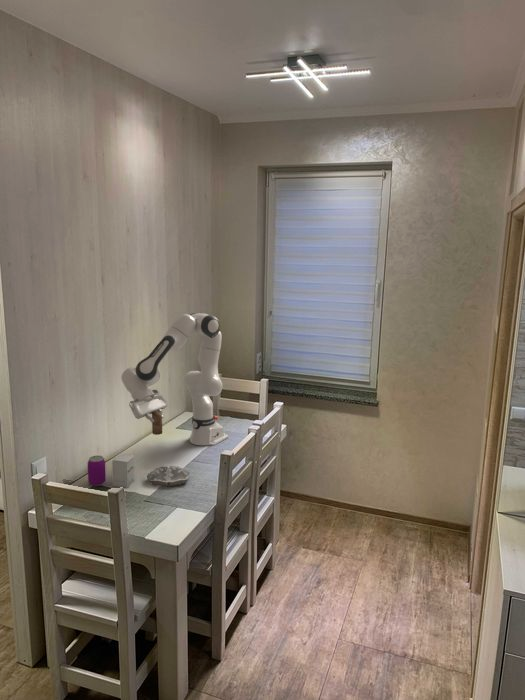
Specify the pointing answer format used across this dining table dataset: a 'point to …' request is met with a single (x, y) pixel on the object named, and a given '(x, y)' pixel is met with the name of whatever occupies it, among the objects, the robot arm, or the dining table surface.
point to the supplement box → (123, 470)
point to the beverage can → (96, 471)
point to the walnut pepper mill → (157, 423)
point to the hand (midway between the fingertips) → (158, 420)
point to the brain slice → (168, 476)
